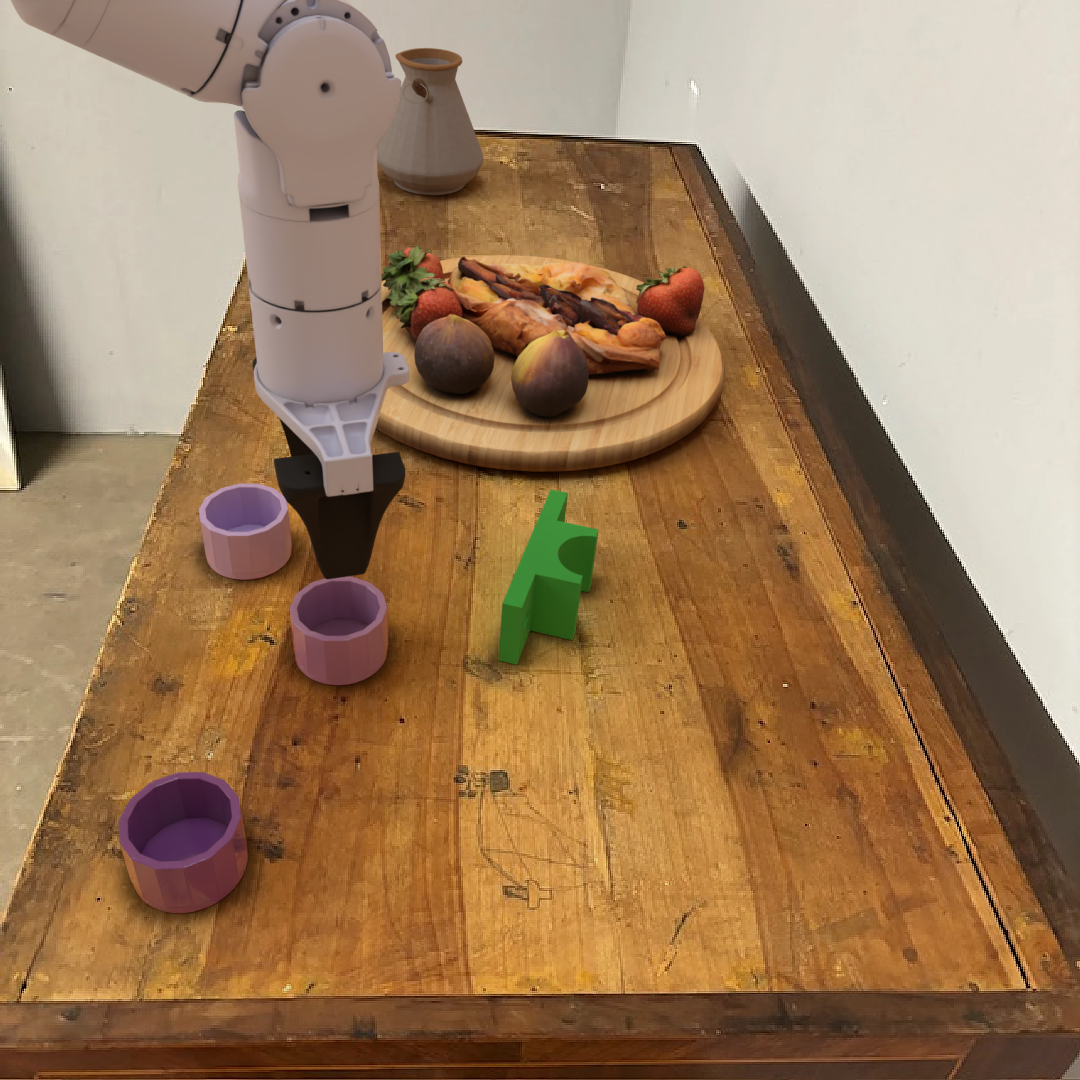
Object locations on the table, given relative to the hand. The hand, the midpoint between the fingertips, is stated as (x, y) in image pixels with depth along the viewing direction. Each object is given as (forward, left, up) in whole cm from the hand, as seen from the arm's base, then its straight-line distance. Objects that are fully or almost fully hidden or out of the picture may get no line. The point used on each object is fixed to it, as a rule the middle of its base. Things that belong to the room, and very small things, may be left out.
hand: (331, 524), depth 56 cm
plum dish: (-9, -12, -9) cm, 18 cm away
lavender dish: (-4, +10, -9) cm, 14 cm away
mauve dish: (0, 0, -9) cm, 9 cm away
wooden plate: (+20, +29, -10) cm, 37 cm away
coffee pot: (+20, +64, -10) cm, 67 cm away
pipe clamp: (+13, +1, -10) cm, 16 cm away
